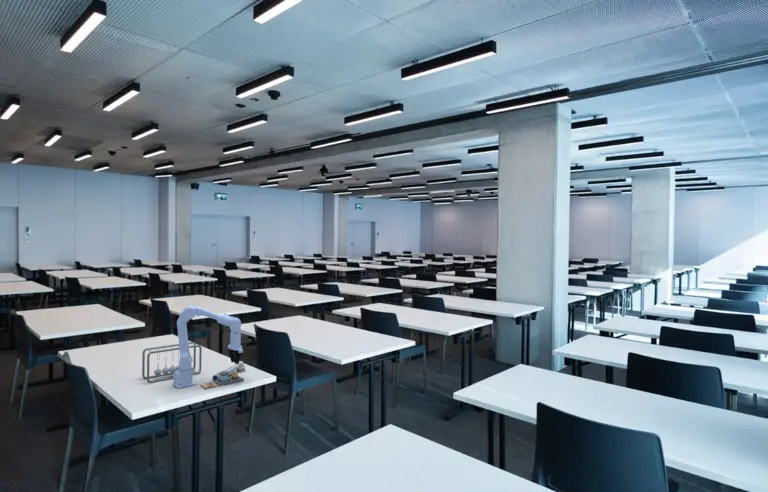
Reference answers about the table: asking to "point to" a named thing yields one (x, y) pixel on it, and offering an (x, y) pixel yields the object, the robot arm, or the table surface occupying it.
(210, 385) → the pad
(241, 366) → the pale blue tube
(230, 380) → the housing
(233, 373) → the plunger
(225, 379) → the cylinder
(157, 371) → the newton's cradle
